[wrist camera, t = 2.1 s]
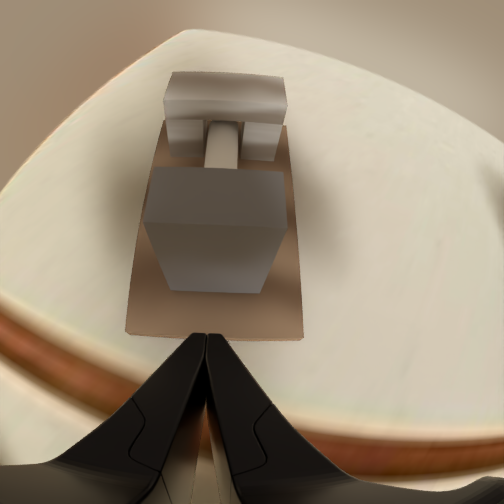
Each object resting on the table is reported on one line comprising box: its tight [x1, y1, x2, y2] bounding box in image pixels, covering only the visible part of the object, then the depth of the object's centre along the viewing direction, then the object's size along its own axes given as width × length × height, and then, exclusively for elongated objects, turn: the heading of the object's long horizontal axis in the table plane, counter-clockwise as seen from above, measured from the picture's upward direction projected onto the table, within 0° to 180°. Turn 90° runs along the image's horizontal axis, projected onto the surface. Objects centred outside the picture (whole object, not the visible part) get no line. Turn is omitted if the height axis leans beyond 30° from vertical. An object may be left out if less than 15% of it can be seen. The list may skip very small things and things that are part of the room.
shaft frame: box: [125, 72, 304, 341], centre depth 22 cm, size 20×12×8 cm, turn 0°
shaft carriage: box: [143, 120, 288, 294], centre depth 19 cm, size 13×6×9 cm, turn 0°
